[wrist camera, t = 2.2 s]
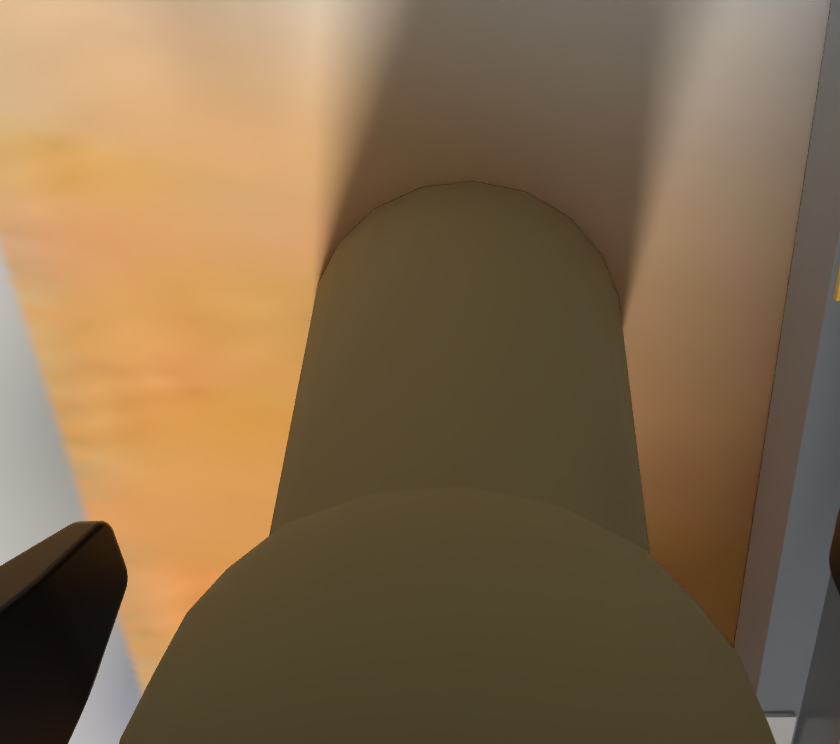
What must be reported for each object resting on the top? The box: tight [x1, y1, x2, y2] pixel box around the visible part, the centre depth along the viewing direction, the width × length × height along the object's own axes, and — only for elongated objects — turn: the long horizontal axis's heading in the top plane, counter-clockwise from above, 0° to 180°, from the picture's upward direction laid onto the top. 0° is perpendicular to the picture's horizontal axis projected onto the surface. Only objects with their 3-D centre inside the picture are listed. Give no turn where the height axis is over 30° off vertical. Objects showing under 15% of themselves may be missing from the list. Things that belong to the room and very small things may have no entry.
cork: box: [119, 181, 776, 744], centre depth 9 cm, size 6×6×11 cm
